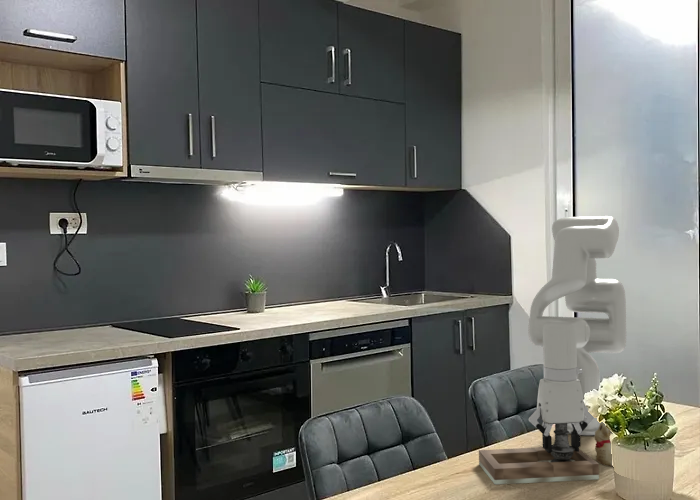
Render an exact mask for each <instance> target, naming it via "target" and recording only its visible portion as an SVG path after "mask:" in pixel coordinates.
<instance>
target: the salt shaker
mask: <svg viewBox="0 0 700 500" xmlns="http://www.w3.org/2000/svg"><path fill="white" fill-rule="evenodd" d="M553 433H554V443H552V452H551V455H552V456H553V457H554V458H555V459H553V460H551V461H550V463H551V462H571V460H569V459H570V458H571V457H572V455H573V451H574V450H575V448H574V447H572V446H571V444H570V443H569V434H570V433H569V431H567V423H565V424H554V430H553Z"/></svg>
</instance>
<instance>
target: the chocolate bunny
mask: <svg viewBox="0 0 700 500" xmlns="http://www.w3.org/2000/svg"><path fill="white" fill-rule="evenodd" d="M610 436H611V429H610V430H609V429H608V428H607V427H606V426H605V424H604V423H603V422H601V423H600V426H599V429H598V430H597V431H595V435H594V440H595V447H594V451H595V452H596V456H595V459H596V460H595V461H596V462H597V463H598V464H601V465H603V466H608V467H613V466H612V454H611V444H612V441H611V438H610Z"/></svg>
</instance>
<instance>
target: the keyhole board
mask: <svg viewBox="0 0 700 500" xmlns="http://www.w3.org/2000/svg"><path fill="white" fill-rule="evenodd" d="M553 459H555V458H554V457H553V456H552V455H551V453H548V452H547V451H546V450H545V449H544V448H543V446H540V447H517V448H499V449H494V448H493V449H479V450H478V464H479V466H480V467H481V469H482V470H483V472H484V473H485V474H486V475H487V477H488V478H489V479H490V480H491V482H492V483H493V484H494V485H510V484H511V485H513V484H528V483H529V484H531V483H532V484H533V483H552V482H570V481H571V482H572V481H590V480H591V481H592V480H600V463H599V462H598V461H597V460H595V459H594V458H592V457H591V456H589V455H588V454H586V453H585V452H584V451H583V450H581V449H580V448H579V452H576V451H575V450H574V451H573V455H572V457H571V458H570V459H569V460H571V462H551V463H550V461H551V460H553Z"/></svg>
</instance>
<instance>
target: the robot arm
mask: <svg viewBox="0 0 700 500" xmlns="http://www.w3.org/2000/svg"><path fill="white" fill-rule="evenodd" d="M551 233H552V236H553V240H554V249H553V259H552V260H553V261H552V272H551V279H550V280H549V281H548V282H546V283H545V284H544V285H543V286H542V287H541V288H540V289H539V290H538V292H537V293H536V295H535V297H534V298H533V299H532V303H531V305H530V309H529V312H530V313H529V319H528V338H529V341H530V342H531V344H533V345H534V346H536V347H538V348H539V347H540V348H543V354H542V355H543V359H542V360H543V378H540V380H539V384H538V389H537V390H538V391H537V400H536V402H537V403H536V409H535V410H534V411H533V413H532V414H531V415H530V416H529V418H528V422H529V423H530V424H531V425H533V426H534V427H535V428H536V429H537V430H538V431H539V432H540V433H542V434H541V435H542V439H541V440H542V447H543V448H544V449H545V450H546V451H547V452H548V453H551V452H552V445H553V442H552V440H553V437H552V436H551V430H552V427H553V425H555V424H565V423H567V431H569V434H570V446H572V447H574V448H575V451H576V452H579V449H580V447H581V436H595V431H597V430H598V429H599V426H600V423H599V422H598V421H597V418H594V417H593V416H592V415H591V414H590V413H589V412H588V408H587V407H586V406H585V405H584V402H583V398H584V394H585V393H587V392H589V391H590V390H592V389H598V388H599V385H601V384H600V368H599V365H598V363H597V361H596V359H595V358H594V357H593V356H592V355H591V354H590V353H593V354H594V353H601V354H605V353H606V354H619V353H622V352H623V351H624V350H625V349H626V346H627V345H626V344H627V308H626V307H627V305H626V303H627V302H626V291H625V287H624V285H623V283H622V282H621V281H620V280H617V279H614V278H598V277H597V261H596V259H609V258H611V257H612V256H613V254H614V252H615V249H616V246H617V243H618V240H619V236H620V235H619V234H620V228H619V223H618V221H617V220H616V218H614V217H613V216H608V215H605V216H601V215H599V216H598V215H597V216H596V215H595V216H568V217H562V218H558V219H556V220H555V221H554V222H553V223H552V226H551ZM562 298H564V300H565V301H564V302H565V306H566V307H567V309H568V311H570V312H574V313H581V314H582V313H585V314H604V315H605V314H606V316H608V318H604V317H601V318H600V317H581V316H580V317H574V316H573V317H571V316H570V317H569V316H548V315H547V316H546V315H545V316H543V315H544V311H545V310H546V309H547V307H548V306H550V305H551V304H552V303H553V302H555V301H557V300H559V299H562ZM538 420H542V423H539V421H538Z"/></svg>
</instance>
